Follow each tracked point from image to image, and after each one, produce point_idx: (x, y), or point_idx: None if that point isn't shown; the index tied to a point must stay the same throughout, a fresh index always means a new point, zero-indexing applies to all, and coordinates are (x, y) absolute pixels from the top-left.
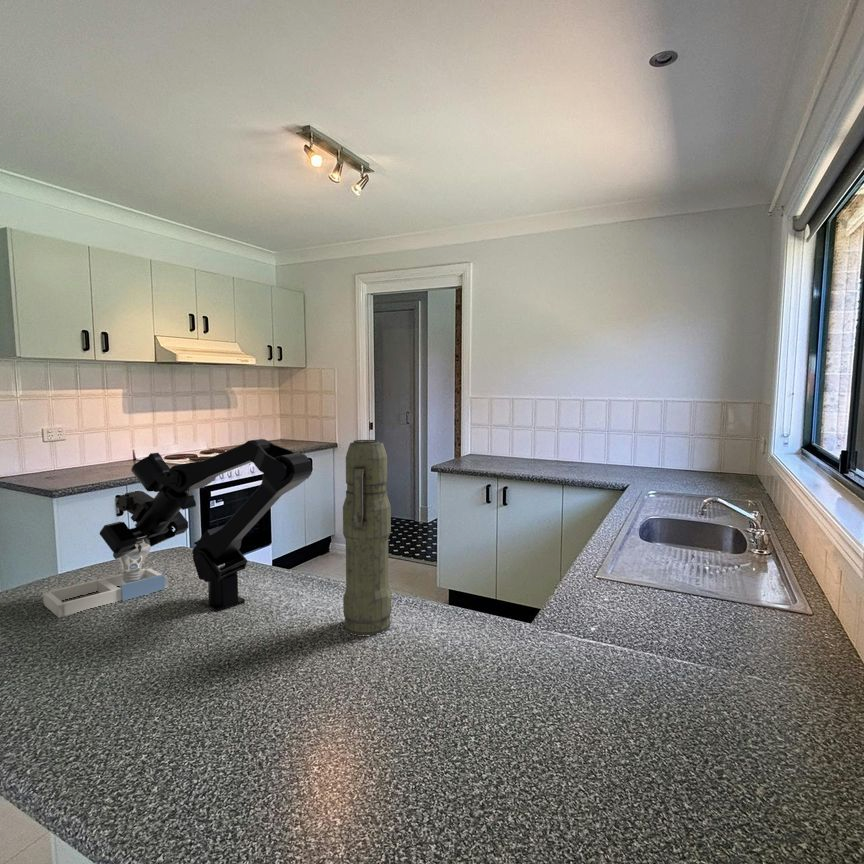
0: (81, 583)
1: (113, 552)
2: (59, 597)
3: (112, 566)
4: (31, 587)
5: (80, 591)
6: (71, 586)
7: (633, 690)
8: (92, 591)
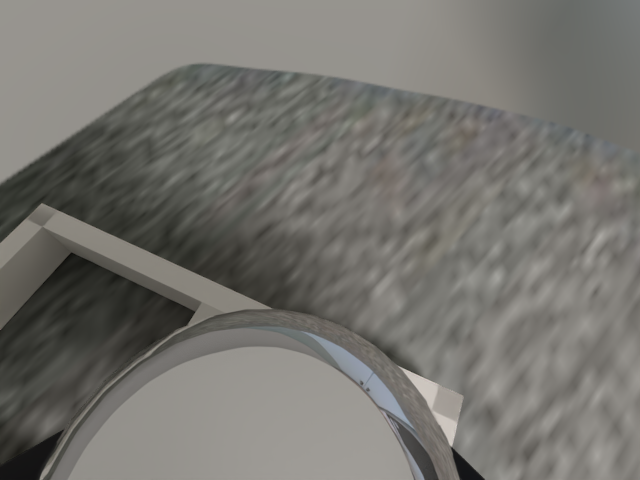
0: (160, 260)
1: (60, 432)
2: (88, 255)
3: (469, 145)
4: (223, 86)
5: (151, 284)
6: (117, 252)
7: None
8: (194, 309)
